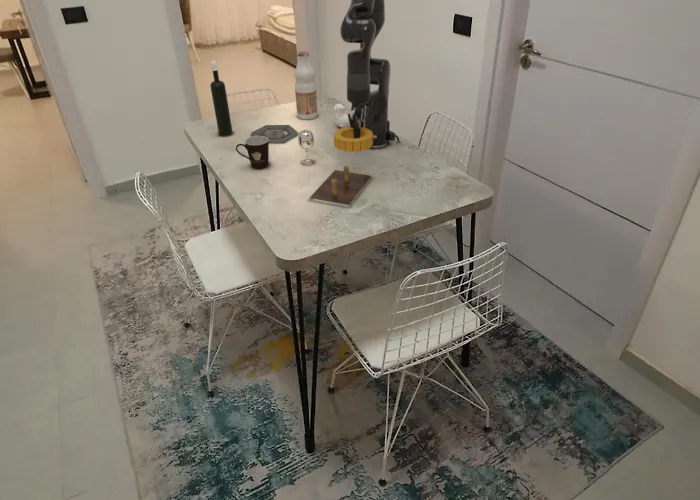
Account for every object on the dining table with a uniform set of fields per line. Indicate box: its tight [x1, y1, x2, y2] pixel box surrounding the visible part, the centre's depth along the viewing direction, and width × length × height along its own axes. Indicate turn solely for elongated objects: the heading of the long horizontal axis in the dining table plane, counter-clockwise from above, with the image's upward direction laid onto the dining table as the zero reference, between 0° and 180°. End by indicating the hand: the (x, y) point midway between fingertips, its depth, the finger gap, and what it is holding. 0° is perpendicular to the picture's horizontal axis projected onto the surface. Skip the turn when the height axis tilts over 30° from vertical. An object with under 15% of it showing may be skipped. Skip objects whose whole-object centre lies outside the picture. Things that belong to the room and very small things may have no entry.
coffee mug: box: [235, 135, 270, 170], centre depth 182 cm, size 12×9×10 cm
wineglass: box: [297, 129, 315, 164], centre depth 182 cm, size 6×6×12 cm
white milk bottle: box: [293, 51, 318, 120], centre depth 218 cm, size 9×9×28 cm
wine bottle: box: [209, 60, 234, 137], centre depth 202 cm, size 6×6×30 cm
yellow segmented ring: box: [333, 127, 373, 153], centre depth 163 cm, size 13×13×4 cm
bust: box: [333, 103, 350, 129], centre depth 212 cm, size 12×8×11 cm
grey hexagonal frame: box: [250, 124, 299, 144], centre depth 208 cm, size 17×20×1 cm
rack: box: [309, 165, 372, 206], centre depth 167 cm, size 22×14×6 cm, turn 159°
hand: (358, 136), depth 167 cm, fingers closed on yellow segmented ring, 2 cm apart
